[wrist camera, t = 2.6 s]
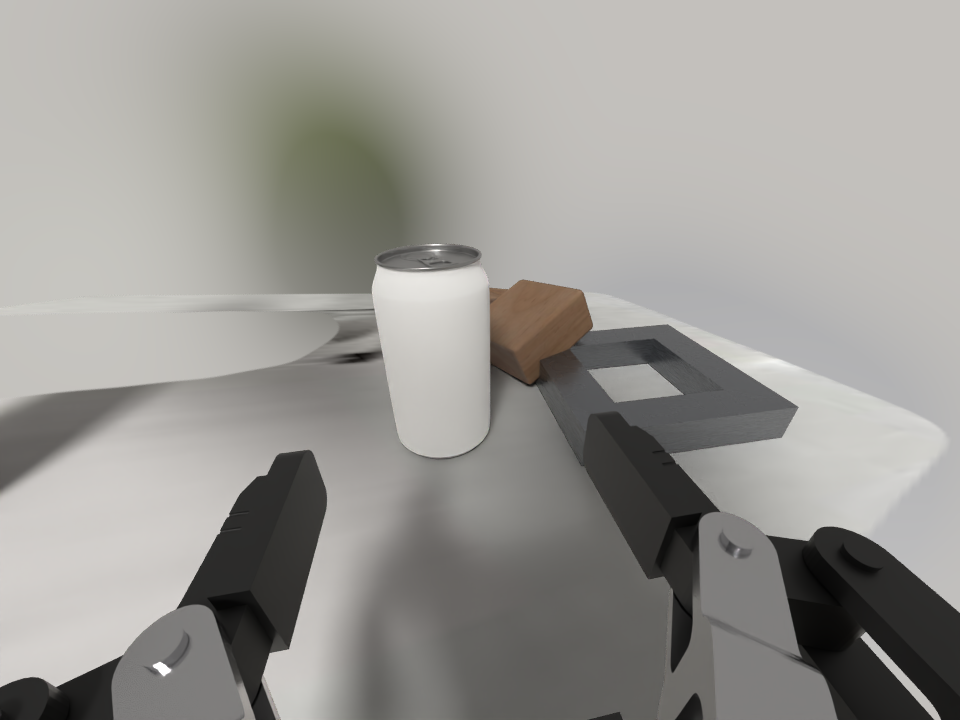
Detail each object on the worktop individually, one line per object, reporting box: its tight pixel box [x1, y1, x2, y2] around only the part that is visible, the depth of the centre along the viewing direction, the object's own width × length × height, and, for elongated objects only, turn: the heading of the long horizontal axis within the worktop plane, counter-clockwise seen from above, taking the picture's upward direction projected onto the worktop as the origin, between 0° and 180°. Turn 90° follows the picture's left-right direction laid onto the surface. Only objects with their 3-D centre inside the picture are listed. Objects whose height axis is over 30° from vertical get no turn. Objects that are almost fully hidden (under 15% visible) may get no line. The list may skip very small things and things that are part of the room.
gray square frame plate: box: [535, 324, 798, 466], centre depth 27 cm, size 14×13×2 cm
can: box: [372, 244, 490, 459], centre depth 21 cm, size 6×6×12 cm
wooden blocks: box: [489, 280, 593, 384], centre depth 35 cm, size 8×13×18 cm
